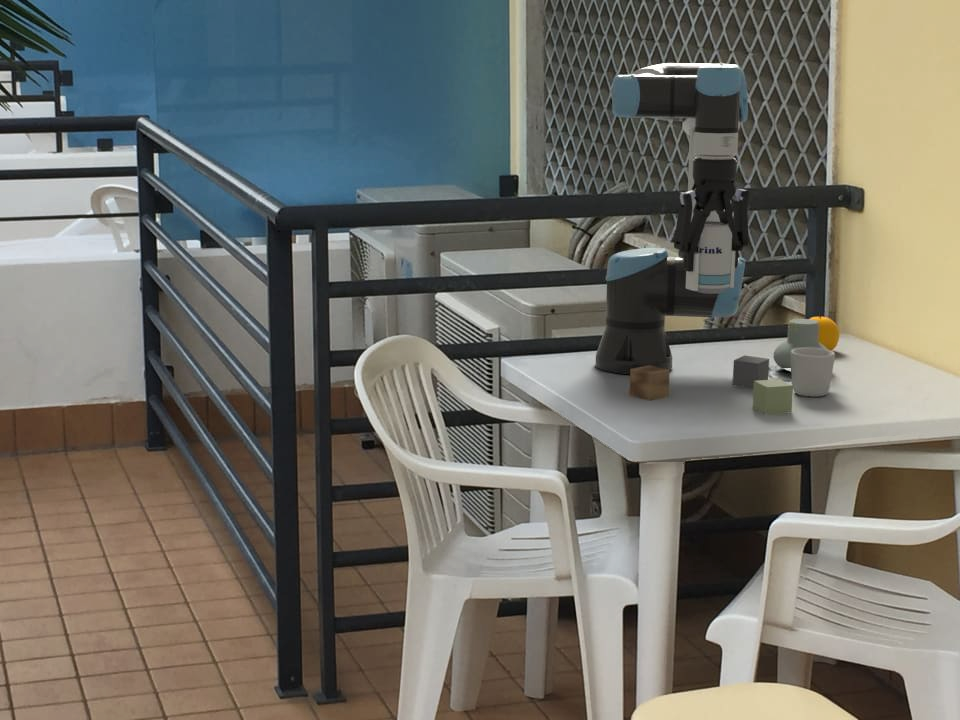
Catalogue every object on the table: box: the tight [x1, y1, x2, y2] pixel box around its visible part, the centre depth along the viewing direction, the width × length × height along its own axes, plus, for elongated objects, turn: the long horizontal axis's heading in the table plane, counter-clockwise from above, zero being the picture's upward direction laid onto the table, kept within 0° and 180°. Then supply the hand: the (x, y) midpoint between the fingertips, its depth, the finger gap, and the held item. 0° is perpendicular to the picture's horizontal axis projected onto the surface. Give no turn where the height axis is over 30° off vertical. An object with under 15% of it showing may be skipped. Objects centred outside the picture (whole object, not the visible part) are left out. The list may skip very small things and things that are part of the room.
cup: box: [790, 347, 836, 398], centre depth 271 cm, size 11×8×8 cm
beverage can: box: [695, 221, 732, 294], centre depth 258 cm, size 7×7×12 cm
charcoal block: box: [732, 354, 770, 390], centre depth 277 cm, size 5×5×5 cm
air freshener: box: [772, 318, 828, 369], centre depth 288 cm, size 11×8×10 cm
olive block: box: [752, 378, 794, 415], centre depth 259 cm, size 5×5×5 cm
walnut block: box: [629, 365, 671, 401], centre depth 269 cm, size 5×5×5 cm
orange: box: [809, 315, 840, 351], centre depth 306 cm, size 8×8×8 cm
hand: (709, 287), depth 259 cm, fingers closed on beverage can, 7 cm apart
